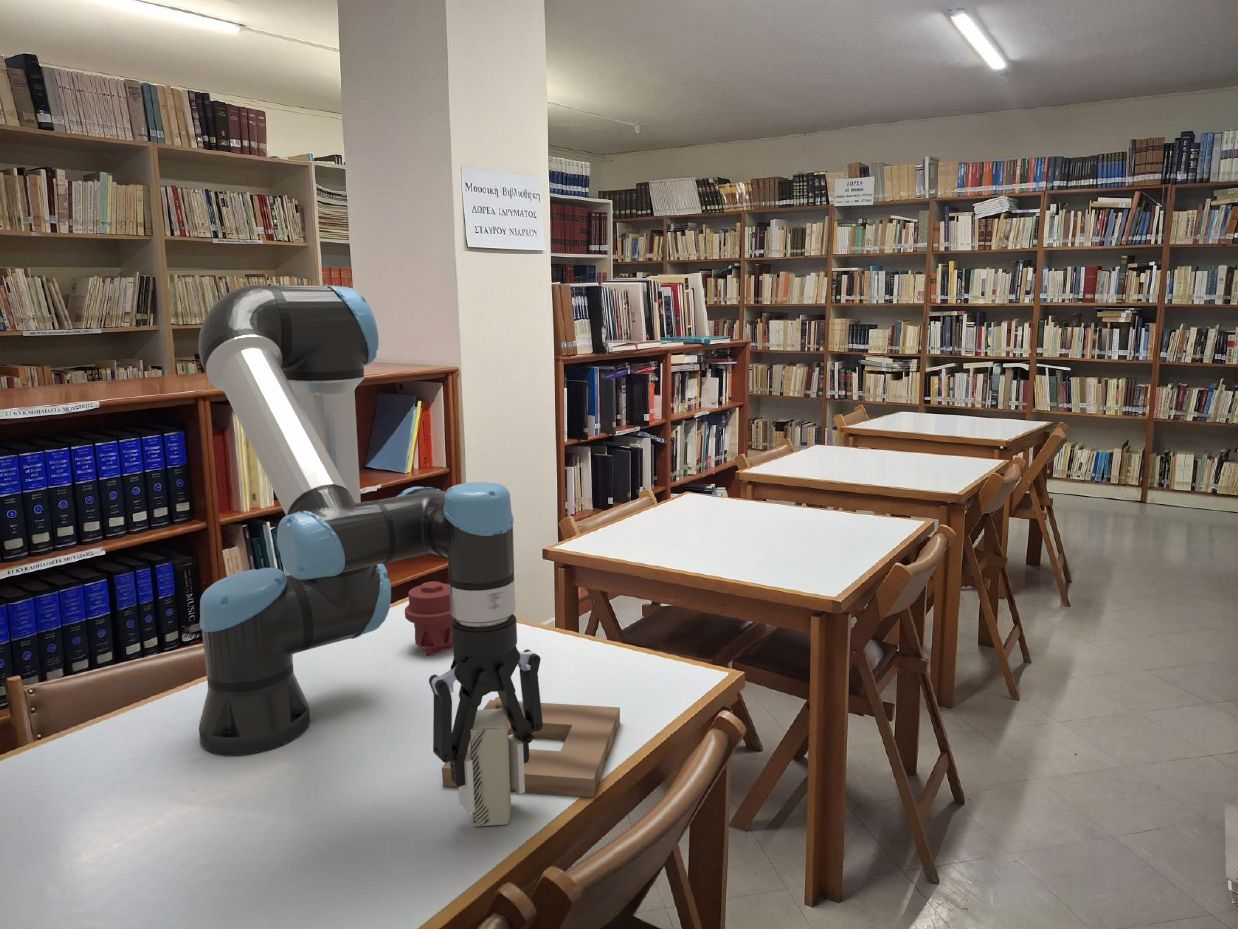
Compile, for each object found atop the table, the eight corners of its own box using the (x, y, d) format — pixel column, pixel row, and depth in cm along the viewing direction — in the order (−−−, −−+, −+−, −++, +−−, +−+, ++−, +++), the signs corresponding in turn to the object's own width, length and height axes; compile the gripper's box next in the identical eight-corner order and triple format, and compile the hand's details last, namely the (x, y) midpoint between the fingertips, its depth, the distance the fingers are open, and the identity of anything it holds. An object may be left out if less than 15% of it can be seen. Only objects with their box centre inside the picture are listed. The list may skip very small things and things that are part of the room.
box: (476, 804, 107) (471, 708, 105) (512, 802, 107) (508, 706, 105) (473, 829, 102) (467, 728, 99) (510, 827, 102) (506, 726, 100)
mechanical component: (471, 640, 161) (450, 661, 151) (421, 637, 163) (397, 658, 153) (468, 577, 159) (446, 594, 149) (417, 575, 161) (393, 592, 151)
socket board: (593, 797, 108) (593, 768, 107) (442, 785, 111) (441, 757, 111) (620, 723, 127) (619, 698, 127) (490, 715, 131) (489, 690, 130)
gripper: (419, 644, 92) (431, 841, 96) (569, 607, 102) (575, 785, 106) (393, 625, 98) (405, 810, 102) (538, 591, 108) (544, 760, 112)
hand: (492, 797), depth 104 cm, fingers closed on box, 6 cm apart
